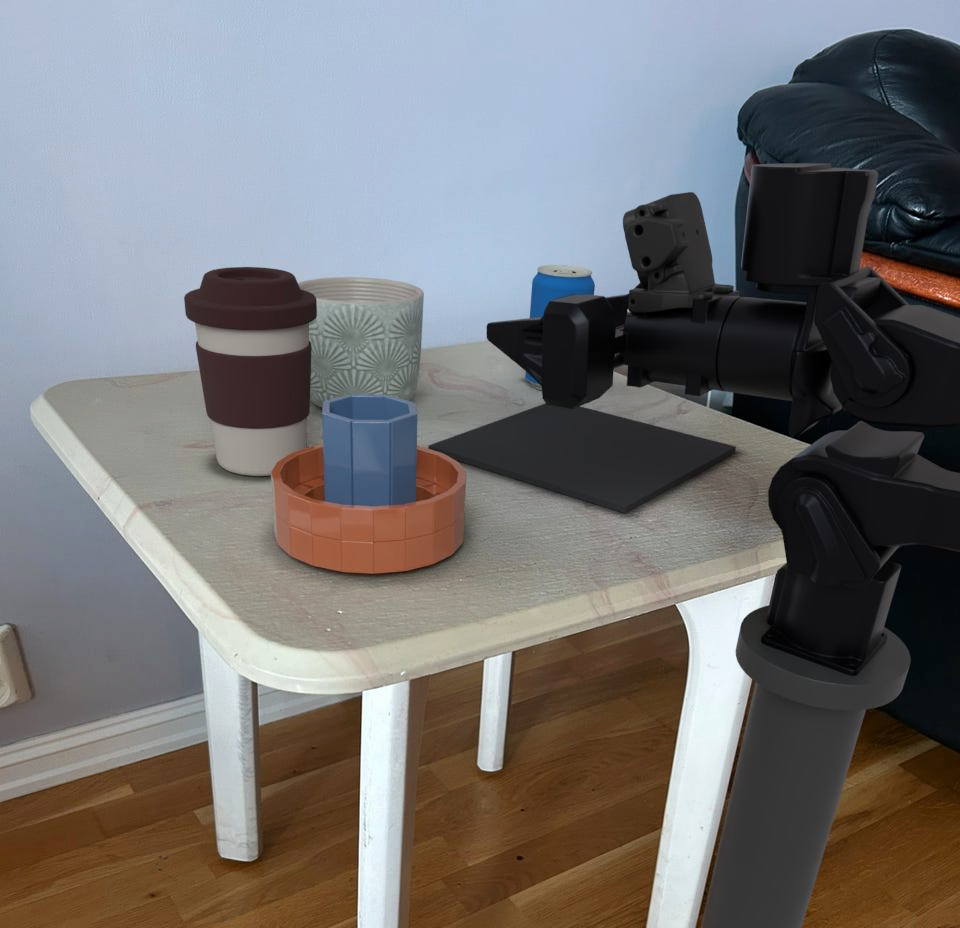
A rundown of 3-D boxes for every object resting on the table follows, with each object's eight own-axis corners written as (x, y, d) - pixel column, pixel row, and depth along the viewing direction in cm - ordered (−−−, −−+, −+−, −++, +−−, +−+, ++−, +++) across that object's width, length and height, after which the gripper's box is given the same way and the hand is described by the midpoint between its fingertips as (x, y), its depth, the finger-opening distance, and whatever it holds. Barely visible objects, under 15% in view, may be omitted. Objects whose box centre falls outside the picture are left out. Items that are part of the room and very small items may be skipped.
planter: (441, 416, 95) (444, 299, 90) (318, 428, 90) (313, 305, 85) (395, 382, 105) (395, 274, 99) (281, 391, 100) (275, 278, 95)
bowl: (500, 537, 71) (504, 472, 69) (375, 600, 62) (375, 526, 59) (366, 490, 78) (365, 428, 75) (236, 540, 69) (230, 471, 66)
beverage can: (585, 380, 109) (597, 266, 103) (583, 396, 104) (595, 277, 98) (527, 375, 110) (535, 262, 104) (522, 391, 104) (530, 272, 98)
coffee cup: (340, 474, 81) (335, 282, 73) (221, 491, 76) (203, 289, 69) (297, 437, 88) (289, 260, 80) (186, 451, 84) (166, 265, 76)
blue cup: (432, 531, 70) (435, 408, 66) (372, 558, 66) (371, 428, 61) (368, 508, 73) (367, 388, 69) (307, 532, 69) (302, 406, 65)
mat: (735, 452, 90) (736, 446, 90) (625, 513, 76) (626, 506, 76) (554, 405, 100) (554, 399, 100) (428, 451, 86) (428, 445, 86)
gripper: (804, 195, 64) (595, 188, 72) (682, 215, 51) (442, 204, 59) (781, 367, 70) (588, 343, 78) (664, 427, 56) (446, 391, 64)
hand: (525, 320), depth 69 cm, fingers open, 9 cm apart
